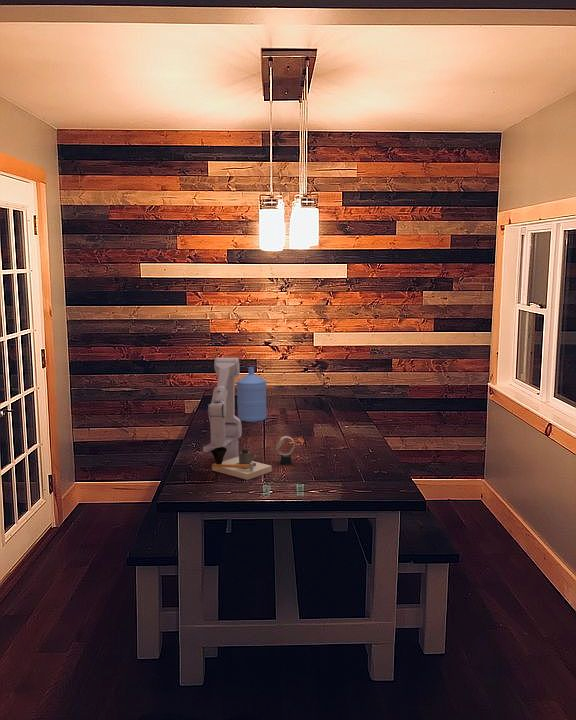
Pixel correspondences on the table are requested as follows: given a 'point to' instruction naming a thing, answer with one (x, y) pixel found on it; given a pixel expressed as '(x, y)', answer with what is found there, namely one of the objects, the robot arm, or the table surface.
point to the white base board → (242, 472)
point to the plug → (245, 457)
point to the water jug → (251, 397)
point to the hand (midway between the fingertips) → (218, 465)
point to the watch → (285, 456)
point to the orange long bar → (235, 465)
